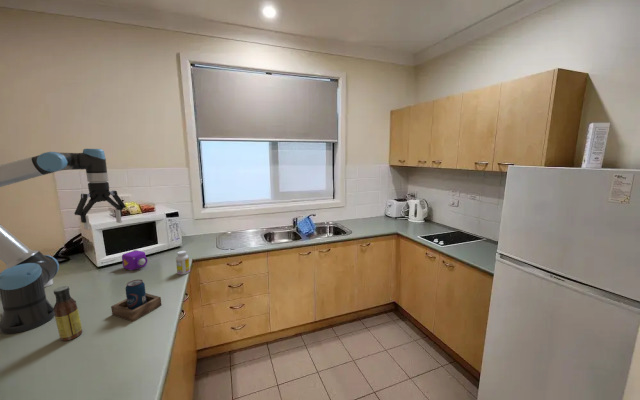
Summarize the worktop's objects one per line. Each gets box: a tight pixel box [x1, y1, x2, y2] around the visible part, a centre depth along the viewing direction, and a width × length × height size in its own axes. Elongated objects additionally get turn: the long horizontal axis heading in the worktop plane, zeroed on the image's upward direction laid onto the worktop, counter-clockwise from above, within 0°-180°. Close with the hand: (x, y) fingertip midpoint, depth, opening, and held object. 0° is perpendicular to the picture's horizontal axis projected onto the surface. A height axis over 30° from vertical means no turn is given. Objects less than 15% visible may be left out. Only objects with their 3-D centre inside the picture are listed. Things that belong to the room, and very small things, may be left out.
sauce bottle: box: [53, 285, 83, 342], centre depth 96 cm, size 6×6×20 cm
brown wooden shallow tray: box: [110, 292, 162, 322], centre depth 115 cm, size 13×13×4 cm
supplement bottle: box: [175, 250, 191, 276], centre depth 152 cm, size 7×7×13 cm
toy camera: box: [121, 249, 148, 271], centre depth 159 cm, size 11×14×10 cm
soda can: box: [124, 279, 147, 310], centre depth 114 cm, size 7×7×12 cm
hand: (104, 225), depth 125 cm, fingers open, 13 cm apart
